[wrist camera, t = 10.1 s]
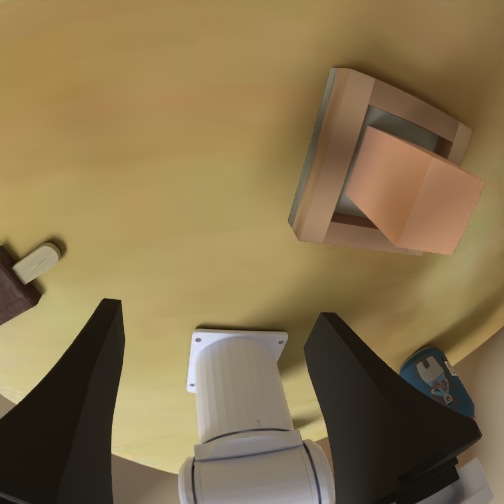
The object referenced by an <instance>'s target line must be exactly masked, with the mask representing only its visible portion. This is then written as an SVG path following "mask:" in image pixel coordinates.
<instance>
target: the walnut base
mask: <svg viewBox="0 0 504 504" xmlns="http://www.w3.org/2000/svg"><path fill="white" fill-rule="evenodd" d="M367 125H368V126H371V127H373V128H376V129H379V130H382V131H384V132H387V133H390V134H392V135H395V136H397V137H400V138H402V139H405V140H407V141H410V142H412V143H415V144H417V145H419V146H422V147H424V148H426V149H428V150H429V151H431V152H433V153H435V154H437V155H439V156H441V157H443V158H445V159H446V160H448V161H450V162H452V163H454V164H455V165H457V166H459V167H460V166H461V163H462V160H463V157H464V154H465V152H466V149H467V146H468V143H469V140H470V136H471V133H472V129H470V128H468V127H467V126H465V125H464V124H462V123H461V122H459V121H457V120H456V119H454V118H452V117H451V116H449V115H447V114H445V113H444V112H442V111H440V110H438V109H437V108H435V107H433V106H431V105H429V104H427V103H426V102H424V101H422V100H420V99H418V98H416V97H414V96H412V95H410V94H408V93H406V92H404V91H402V90H400V89H398V88H395V87H393V86H391V85H389V84H387V83H384V82H382V81H380V80H377V79H375V78H373V77H370V76H368V75H365V74H363V73H360V72H358V71H355V70H353V69H348V68H331V69H330V73H329V77H328V80H327V84H326V88H325V92H324V95H323V99H322V103H321V107H320V110H319V114H318V118H317V121H316V125H315V128H314V132H313V136H312V139H311V143H310V146H309V150H308V153H307V157H306V161H305V164H304V168H303V171H302V174H301V178H300V181H299V185H298V188H297V192H296V195H295V199H294V202H293V205H292V209H291V212H290V215H289V219H288V222H289V224H290V226H291V227H292V229H293V231H294V233H295V235H296V237H297V239H298V240H299V241H302V242H310V243H319V244H327V245H336V246H344V247H352V248H360V249H368V250H376V251H384V252H392V253H400V254H407V255H415V256H421V255H422V253H423V251H420V250H413V249H407V248H400V247H395V246H394V245H393V244H392V242H391V241H390V240H389V239H388V238H387V237H386V236H385V235H384V234H383V233H382V232H381V230H380V229H379V228H378V227H377V226H376V225H375V224H374V223H373V222H372V221H371V220H370V219H369V218H368V217H367V216H366V215H365V214H364V213H363V212H362V211H361V210H360V209H359V208H358V207H357V206H356V205H355V204H354V203H353V202H352V201H351V200H350V199H349V198H348V197H347V196H346V195H345V192H346V189H347V186H348V184H349V181H350V178H351V175H352V172H353V169H354V166H355V163H356V160H357V157H358V154H359V150H360V147H361V144H362V141H363V138H364V135H365V131H366V128H367Z"/></svg>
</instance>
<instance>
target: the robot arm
mask: <svg viewBox="0 0 504 504" xmlns="http://www.w3.org/2000/svg"><path fill="white" fill-rule="evenodd" d="M198 338H199V339H198ZM287 340H288V334H287V333H286V332H270V331H235V330H213V329H195V330H194V331H193V334H192V342H191V351H190V360H189V369H188V379H187V391H188V392H193V393H196V405H197V419H198V432H199V445H194V453H195V456H193V457H188V458H186V460H185V462H184V463H183V464H182V465H181V467H180V470H179V477H178V488H179V496H180V503H181V504H334V501H335V493H336V504H488V503H489V502H491V501H492V500H493V499H494V495H493V493H492V490H491V488H490V485H489V483H488V481H487V478H486V476H485V474H484V471H483V469H482V467H481V465H480V463H479V460H478V458H474V459H473V460H471V461H470V462H468V463H467V464H465V465H463V466H462V467H460V468H458V469H457V470H456V468H455V466H454V465H456V464H458V460H457V458H456V456H458V455H459V454H461V453H462V452H463V451H465V450H466V449H468V448H469V447H470V446H472V445H473V444H474V443H476V442H477V441H478V440H479V439H480V438H481V437H482V434H481V432H480V430H479V428H478V426H477V424H476V422H475V420H474V419H472V418H469V417H467V416H464V415H462V414H460V413H457V412H455V411H453V410H451V409H449V408H447V407H445V406H443V405H442V404H440V403H438V402H436V401H435V400H433V399H431V398H430V397H428V396H427V395H425V394H424V393H422V392H421V391H419V390H418V389H416V388H415V387H414V386H412V385H411V384H410V383H408V382H407V381H406V380H405V379H403V378H402V377H401V376H399V375H398V374H397V373H396V372H395V371H394V370H392V369H391V368H390V367H389V366H388V365H387V364H386V363H385V362H384V361H383V360H382V359H380V358H379V357H378V356H377V355H376V354H375V353H374V352H373V351H372V350H371V349H370V348H369V347H368V346H367V345H366V344H365V343H364V342H363V341H362V340H361V339H360V337H359V336H358V335H357V334H356V333H355V332H354V331H353V330H352V329H351V328H350V327H349V326H348V325H347V324H346V323H345V322H344V321H343V320H342V319H341V318H340V317H339V316H338V315H337V314H336V313H328V312H321V313H320V315H319V317H318V319H317V322H316V324H315V326H314V328H313V330H312V332H311V334H310V336H309V338H308V340H307V342H306V344H305V346H304V352H305V358H306V363H307V368H308V372H309V375H310V378H311V381H312V384H313V387H314V390H315V393H316V396H317V399H318V402H319V405H320V408H321V411H322V414H323V417H324V420H325V424H326V428H327V433H328V437H329V442H330V448H331V454H332V460H333V468H334V478H335V489H334V483H333V478H332V474H331V470H330V466H329V463H328V461H327V458H326V456H325V453H324V451H323V450H322V448H321V447H320V446H319V445H318V444H316V443H314V442H313V441H312V440H310V439H307V440H303V441H302V438H301V434H300V431H299V430H294V427H293V423H292V419H291V415H290V412H289V408H288V404H287V400H286V397H285V393H284V389H283V385H282V381H281V378H280V374H279V370H278V366H277V362H278V360H279V357H280V355H281V353H282V351H283V349H284V346H285V344H286V342H287ZM124 346H125V334H124V325H123V315H122V304H121V300H116V299H107V298H104V299H103V300H101V302H100V304H99V305H98V307H97V308H96V310H95V311H94V313H93V314H92V316H91V317H90V319H89V320H88V322H87V323H86V325H85V326H84V328H83V329H82V330H81V332H80V333H79V334H78V336H77V337H76V339H75V340H74V341H73V343H72V344H71V345H70V347H69V348H68V349H67V350H66V352H65V353H64V354H63V356H62V357H61V358H60V359H59V361H58V362H57V363H56V364H55V365H54V367H53V368H52V369H51V370H50V371H49V373H48V374H47V375H46V376H45V377H44V378H43V379H42V380H41V381H40V382H39V384H38V385H37V386H36V387H35V388H34V389H33V390H32V391H31V392H30V393H29V394H28V395H27V396H26V397H25V398H24V399H23V400H22V401H20V402H19V403H18V404H17V405H16V406H15V407H14V408H13V409H11V410H10V411H9V412H8V413H7V414H6V415H5V416H3V417H2V418H1V419H0V504H113V494H112V476H111V435H112V422H113V414H114V408H115V403H116V397H117V392H118V386H119V381H120V376H121V371H122V366H123V356H124ZM335 491H336V492H335Z"/></svg>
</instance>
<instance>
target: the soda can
mask: <svg viewBox="0 0 504 504" xmlns="http://www.w3.org/2000/svg"><path fill="white" fill-rule="evenodd" d="M399 376H401V377H402V378H403V379H405V380H406V381H407V382H408V383H410V384H411V385H412V386H414V387H415V388H416V389H418V390H419V391H421V392H422V393H424V394H425V395H427V396H428V397H430V398H431V399H433V400H435V401H436V402H438V403H440V404H442V405H443V406H445V407H447V408H449V409H451V410H453V411H455V412H457V413H460V414H462V415H464V416H467V417H469V418H472V419H474V420H475V419H476V417H475V416H474V404H473V402H472V400H471V398H470V396H469V395H468V393H467V391H466V389H465V388H464V386H463V384H462V383H461V381H460V379H459V378H458V376H457V374H456V373H455V371H454V369H453V368H452V366H451V364H450V363H449V361H448V360H447V358H446V356H445V355H444V353H443V352H442V351H441V350H439V349H436V348H434V347H425V348H423V349H421V350H419V351H417V352H415V353H414V354H412V355H411V356H410V357H409V358H408V359H407V360H406V361H405V362H404V363H403V364H402V366H401V367H400V374H399Z"/></svg>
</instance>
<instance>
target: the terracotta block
mask: <svg viewBox="0 0 504 504" xmlns="http://www.w3.org/2000/svg"><path fill="white" fill-rule="evenodd" d="M484 185H485V182H484V181H482V180H481V179H479V178H478V177H476V176H474V175H473V174H471V173H469V172H468V171H466V170H464V169H462V168H461V167H459V166H457V165H455V164H454V163H452V162H450V161H448V160H446V159H445V158H443V157H441V156H439V155H437V154H435V153H433V152H431V151H429V150H428V149H426V148H424V147H422V146H419V145H417V144H415V143H412V142H410V141H407V140H405V139H402V138H400V137H397V136H395V135H392V134H390V133H387V132H384V131H382V130H379V129H376V128H373V127H371V126H368V125H367V128H366V131H365V135H364V138H363V141H362V144H361V147H360V150H359V154H358V157H357V160H356V163H355V166H354V169H353V172H352V175H351V178H350V181H349V184H348V186H347V189H346V192H345V195H346V196H347V197H348V198H349V199H350V200H351V201H352V202H353V203H354V204H355V205H356V206H357V207H358V208H359V209H360V210H361V211H362V212H363V213H364V214H365V215H366V216H367V217H368V218H369V219H370V220H371V221H372V222H373V223H374V224H375V225H376V226H377V227H378V228H379V229H380V230H381V232H382V233H383V234H384V235H385V236H386V237H387V238H388V239H389V240H390V241H391V242H392V244H393V245H394V246H395V247H400V248H407V249H413V250H420V251H427V252H433V253H439V254H446V255H452V254H453V252H454V250H455V249H456V247H457V245H458V243H459V241H460V239H461V237H462V235H463V233H464V230H465V228H466V226H467V224H468V222H469V220H470V218H471V215H472V213H473V211H474V209H475V206H476V204H477V202H478V200H479V197H480V195H481V192H482V190H483V187H484Z"/></svg>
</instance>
